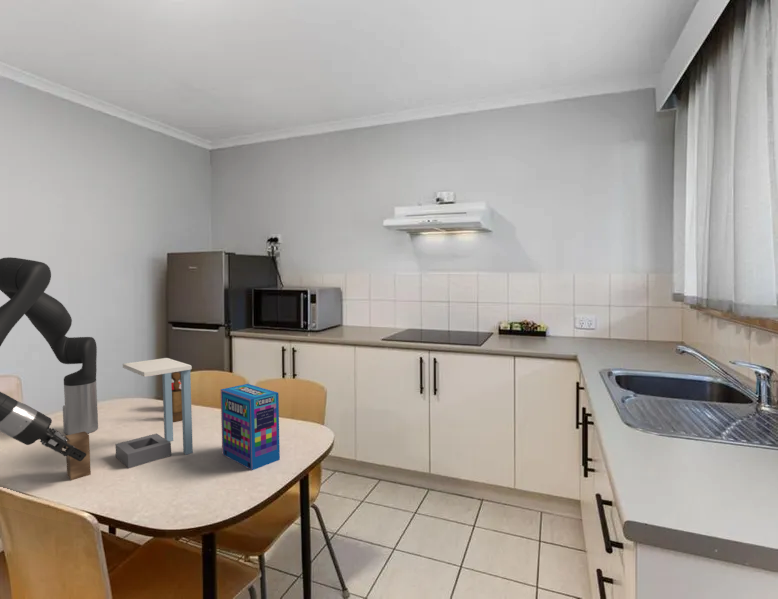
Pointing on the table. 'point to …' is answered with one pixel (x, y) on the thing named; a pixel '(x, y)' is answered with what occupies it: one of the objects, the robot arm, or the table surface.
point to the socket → (143, 450)
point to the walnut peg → (74, 466)
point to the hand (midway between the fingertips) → (79, 453)
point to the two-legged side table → (170, 394)
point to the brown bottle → (176, 398)
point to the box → (250, 425)
